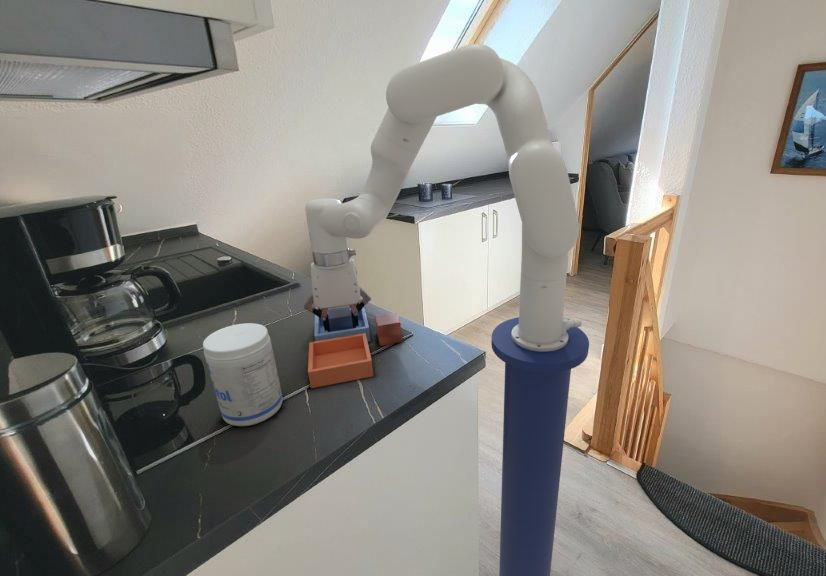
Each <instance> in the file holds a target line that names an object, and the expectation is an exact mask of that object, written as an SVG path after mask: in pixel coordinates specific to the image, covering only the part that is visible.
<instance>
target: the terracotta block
mask: <svg viewBox="0 0 826 576" xmlns="http://www.w3.org/2000/svg"><path fill="white" fill-rule="evenodd" d="M374 320H375V321H374V322H375V329H376V330H375V331H376V337H377V340H378V345H379V346H388V345H393V344H398V343H402V342H403V336H402V335H403V334H402V325H401V320H400V318H399V315H398V313H397V312H395V313H388V314H382V315H376V316H374Z"/></svg>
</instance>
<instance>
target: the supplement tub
mask: <svg viewBox="0 0 826 576" xmlns="http://www.w3.org/2000/svg"><path fill="white" fill-rule="evenodd" d="M202 349H203V355H204V359H205V363H206V366H207V370H208V372H209V376H210V380H211V384H212V387H213V391H214V394H215V397H216V401H217V404H218V407H219V411H220V414H221V418H222V419H223V421H224V422H225V423H226V424H229V425H231V426H235V427H249V426H253V425H257V424H259V423H262V422H264V421H266V420H268V419H269V418H271V417H273V416H274V415H275V414H276V413H277V412H278V411H279V410H280V408H281V406H282V404H283V399H284V398H283V393H282V388H281V383H280V379H279V373H278V369H277V364H276V359H275V355H274V350H273V346H272V339H271V337H270V335H269V332H268V329H267V327H266V326H265V325H263V324H260V323H253V322H246V323H238V324H232V325H229V326H226V327H223V328H220V329H218V330H215V331H213V332H212V333H210V334H209V335H208V336H206V338H205V339H204V340H203V342H202Z"/></svg>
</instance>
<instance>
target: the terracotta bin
mask: <svg viewBox="0 0 826 576" xmlns="http://www.w3.org/2000/svg"><path fill="white" fill-rule="evenodd" d="M307 359H308V362H307V376H308V379H309V385H310V389H315V388H319V387H320V388H321V387H325V386H331V385H335V384H341V383H347V382H351V381H355V380H361V379H366V378H371V377H374V368H373V361H372V356H371V351H370V345H369V342H367V337H366V333H364V334H358V335H351V336H345V337H339V338H333V339H327V340H321V341H315V340H314V341H309V343H308V358H307Z"/></svg>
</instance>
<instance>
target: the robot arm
mask: <svg viewBox="0 0 826 576" xmlns="http://www.w3.org/2000/svg"><path fill="white" fill-rule="evenodd" d="M385 98H386V104H387V109H386V112H385V114H384V116H383V117H382V120H381V123H380V125H379V127H378V129H377V131H376V133H375V135H374V137H373V140H372V141H371V144H370V154H371V159H372V160H371V167H370V171H369V174H368V176H367V178H366V181H365V183H364V185H363V187H362V189H361V191H360V193H359V195H358V196H357V197H355V198H354V199H352V200H349V201H346V202H341V201H340V200H339V199H336V198H332V197H331V198H329V197H325V198H317V199H312V200H309V201H308V202H306V204H305V207H304V209H305V217H306V223H307V229H308V234H309V235H308V237H309V241H310V247H311V253H312V259H313V261H312V262H311V263H310V284H311V294H310V295H309V297H308V298H307V300H306V301H305V302H304V304H303V310H306V311H307V312H309V313H312V314H313V315H314V316H315V315H316V316H318V317H320V318H321V320H323V325H324V331H328V332H331V331H330V325H329V319H328V314H327V312H328V310H329V309H333V308H338V307H339V308H340V307H346V306H348V307H350V309H351V315H352V323H353V328H356V326H359V323H358V314H359V312H360V311H361V310H362V308H363V307H364V308H365V306H366V305H367V304H368V303H369V302H371V300H372V297H371V295H370V294H369V293H368V292H366V291H365V290H364V289H363V288H362V287H361V286H360V283H359V281H360V280H359V276H358V272H357V267H356V264H355V261H354V259H353V258H352V257H353V256H357V250H356V249H355V248H354V249H352V248H350V247H349V242H348V239H364V238H366V237H368V236H370V235H371V234H372V233H373V232H375V230H376V229H377V228H379V227H380V226H381V225H382V224H383V223H384V222H385V221H386V219H387V218H388V215H389V214H390V212H391V210H392V208H393V206H394V205H395V202H396V200H397V199H398V197H399V195H400V192H401V190H402V188H403V185H404V183H405V182H406V179H407V177H408V176H409V173H410V170H411V168H412V166H413V164H414V163H415V160H416V158H417V156H418V154H419V153H420V150H421V148H422V146H423V144H424V142H425V140H426V139H427V136H428V135H429V133H430V130H431V129H432V127H433V125H434V123H435V121H436V119H437V118H438V117H440V116H442V115H446V114H449V113H452V112H456V111H458V110H461V109H465V108H466V107H470V106H473V105H486V106H487V107H489V108H490V110H491V111H492V112H493V115H494V116H495V119H496V122H497V126H498V130H499V133H500V136H501V139H502V143H503V146H504V150H505V154H506V158H507V164H508V176H509V181H510V184H511V188H512V193H513V195H514V200H515V202H516V207H517V210H518V213H519V217H520V221H521V261H520V286H519V308H518V311H519V312H518V317H519V324H518V325H516V326H515V327H514V328H513V329H512V332H511V337H512V340H513V341H514V342H515V343H516V344H517V345H519V346H520V347H522V348H525V349H528V350H531V351H538V352H549V351H555V350H558V349H561V348H563V347H564V346H565V345H566V344H567V343H568V333H567V332H566V330H569V329H570V328H575V327H578V328H580V327H582V324H583V323H582V320H581V319H580V318H572V319H571V316H569V315H566V316H564V311H565V299H566V287H567V286H566V285H567V276H568V266H569V252H571V250H572V249H573V248H574V247H575V245H576V244H577V241H578V238H579V234H580V224H579V218H578V212H577V208H576V204H575V199H574V194H573V190H572V186H571V181H570V177H569V173H568V169H567V165H566V162H565V160H564V158H563V156H562V154H561V153H560V152H559V150H557V149H556V147H554V144H553V141H552V138H551V134H550V130H549V126H548V123H547V119H546V116H545V112H544V108H543V105H542V101H541V98H540V95H539V93H538V90H537V88H536V86H535V84H534V82H533V81H532V79H531V78H530V76H528V75H527V73H526V72H524V70H523V69H522V68H520V66H518V65H517V64H515V63H513V62H511V61H509V60H507V59H504V58H501V57H500V56H499V54H498V53H497V52H496V51H495V50H494V49H493V48H491V47H490V46H488V45H486V44H482V43H470V44H466V45H463V46H460V47H457V48H455V49H452V50H449V51H446V52H444V53H441V54H438V55H435V56H433V57H431V58H428V59H425V60H422V61H420V62H417V63H414V64H411V65H407V66H406V67H403V68H400V69H399V70H398V71H397V72H395V73H394V74H393V75H392V76H391V78H390V79H389V81H388V83H387V86H386V91H385ZM313 304H314V305H313Z"/></svg>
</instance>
